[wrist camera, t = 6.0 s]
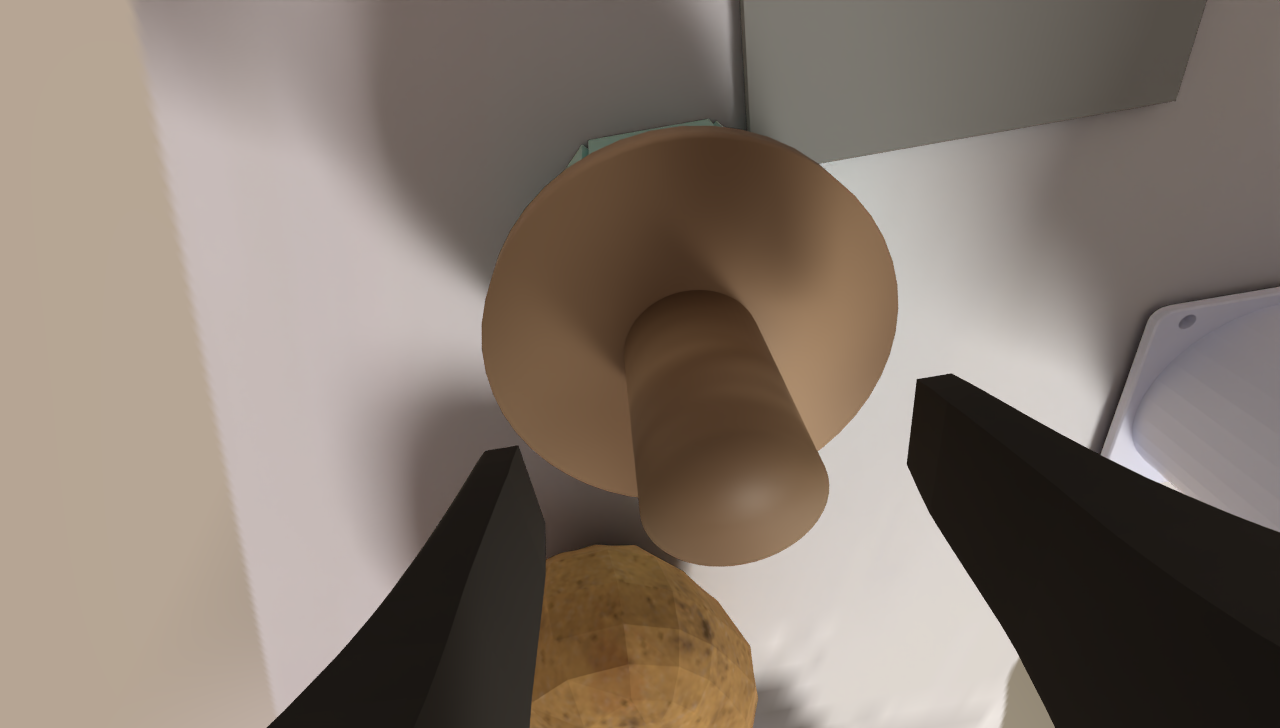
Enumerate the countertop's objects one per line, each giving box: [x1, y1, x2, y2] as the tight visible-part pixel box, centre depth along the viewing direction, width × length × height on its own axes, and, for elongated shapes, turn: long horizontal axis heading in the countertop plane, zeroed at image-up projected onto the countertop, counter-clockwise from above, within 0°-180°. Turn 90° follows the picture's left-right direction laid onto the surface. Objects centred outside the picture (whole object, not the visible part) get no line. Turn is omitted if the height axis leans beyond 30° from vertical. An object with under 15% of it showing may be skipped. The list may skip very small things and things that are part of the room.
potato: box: [530, 544, 758, 728], centre depth 22 cm, size 10×14×8 cm
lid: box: [482, 126, 898, 566], centre depth 12 cm, size 9×9×6 cm
